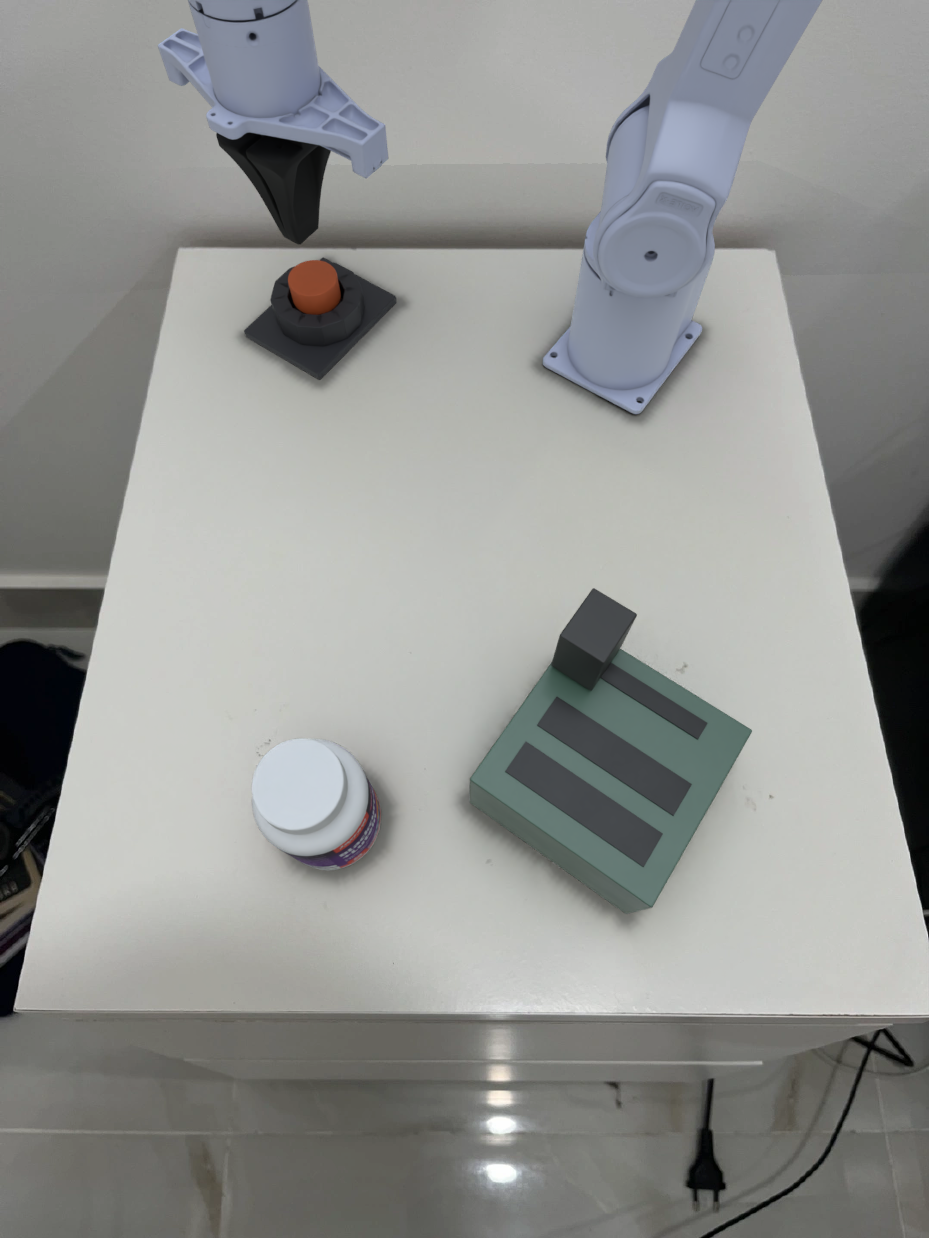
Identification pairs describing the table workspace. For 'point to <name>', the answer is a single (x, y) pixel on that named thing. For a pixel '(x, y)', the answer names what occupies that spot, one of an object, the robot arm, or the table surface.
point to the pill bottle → (315, 803)
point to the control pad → (319, 323)
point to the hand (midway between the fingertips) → (301, 232)
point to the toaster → (609, 776)
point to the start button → (314, 287)
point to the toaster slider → (592, 638)
